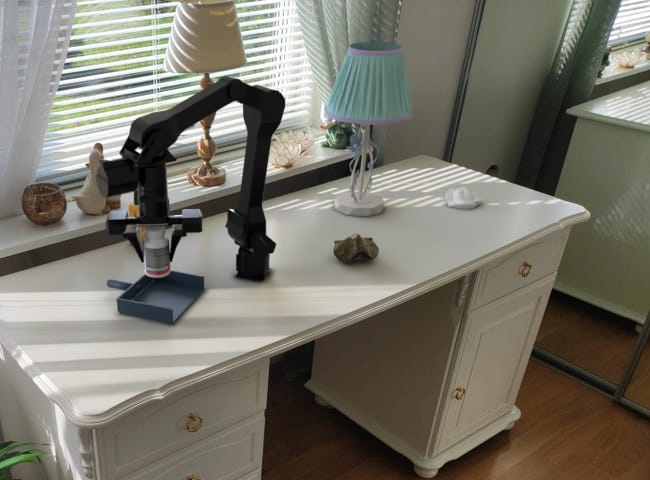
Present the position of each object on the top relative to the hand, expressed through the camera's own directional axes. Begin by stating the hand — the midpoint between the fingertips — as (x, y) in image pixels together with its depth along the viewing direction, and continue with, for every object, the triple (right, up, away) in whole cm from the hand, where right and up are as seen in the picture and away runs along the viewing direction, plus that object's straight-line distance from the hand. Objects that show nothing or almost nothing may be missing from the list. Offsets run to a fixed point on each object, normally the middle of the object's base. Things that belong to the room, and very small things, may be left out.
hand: (157, 261), depth 145 cm
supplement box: (-6, +9, +30) cm, 32 cm away
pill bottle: (0, -2, +2) cm, 3 cm away
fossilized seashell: (+44, +5, +18) cm, 48 cm away
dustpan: (-2, -7, +6) cm, 9 cm away
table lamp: (+52, +21, +46) cm, 72 cm away
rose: (+80, +22, +47) cm, 95 cm away
